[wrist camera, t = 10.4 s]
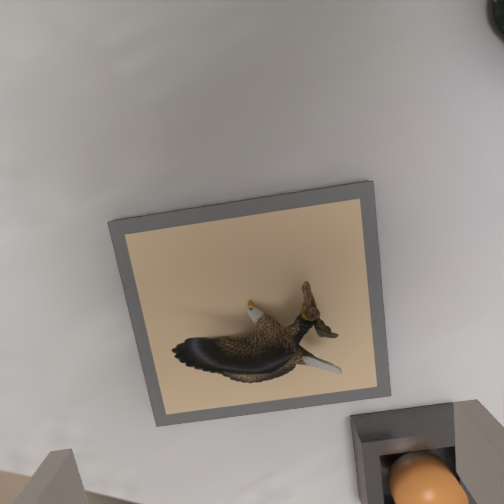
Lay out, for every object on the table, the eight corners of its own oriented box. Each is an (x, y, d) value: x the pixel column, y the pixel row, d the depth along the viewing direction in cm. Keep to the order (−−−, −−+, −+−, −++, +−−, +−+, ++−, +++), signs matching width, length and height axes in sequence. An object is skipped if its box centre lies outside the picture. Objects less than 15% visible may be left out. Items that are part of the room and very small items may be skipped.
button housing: (452, 402, 29) (475, 428, 26) (456, 487, 30) (478, 521, 27) (350, 415, 29) (361, 443, 26) (359, 499, 30) (370, 534, 28)
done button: (448, 447, 26) (467, 475, 24) (450, 499, 27) (469, 531, 25) (384, 455, 27) (397, 483, 24) (389, 507, 28) (402, 539, 25)
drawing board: (368, 180, 25) (373, 181, 24) (386, 388, 28) (391, 396, 27) (113, 220, 26) (107, 222, 25) (159, 418, 29) (155, 427, 28)
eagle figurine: (276, 242, 24) (157, 318, 23) (341, 317, 18) (189, 418, 18) (306, 305, 29) (209, 369, 28) (363, 378, 24) (246, 457, 23)
